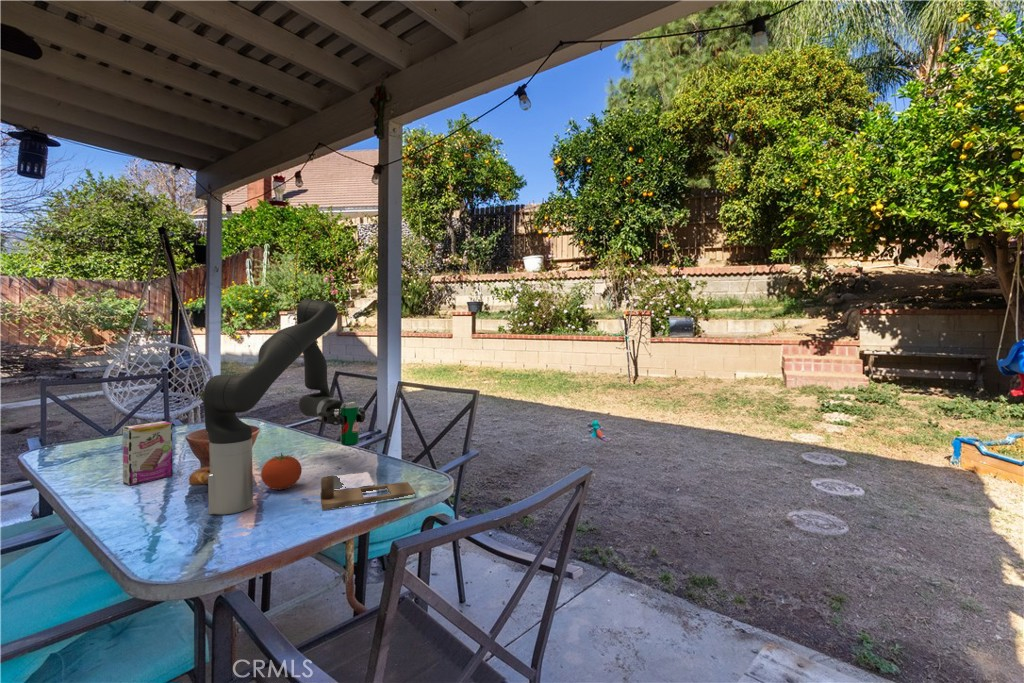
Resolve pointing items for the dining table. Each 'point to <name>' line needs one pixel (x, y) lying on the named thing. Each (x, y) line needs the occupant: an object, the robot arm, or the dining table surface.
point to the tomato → (281, 472)
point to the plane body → (358, 494)
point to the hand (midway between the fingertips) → (352, 420)
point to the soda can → (350, 423)
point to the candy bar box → (147, 452)
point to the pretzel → (200, 476)
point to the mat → (337, 482)
